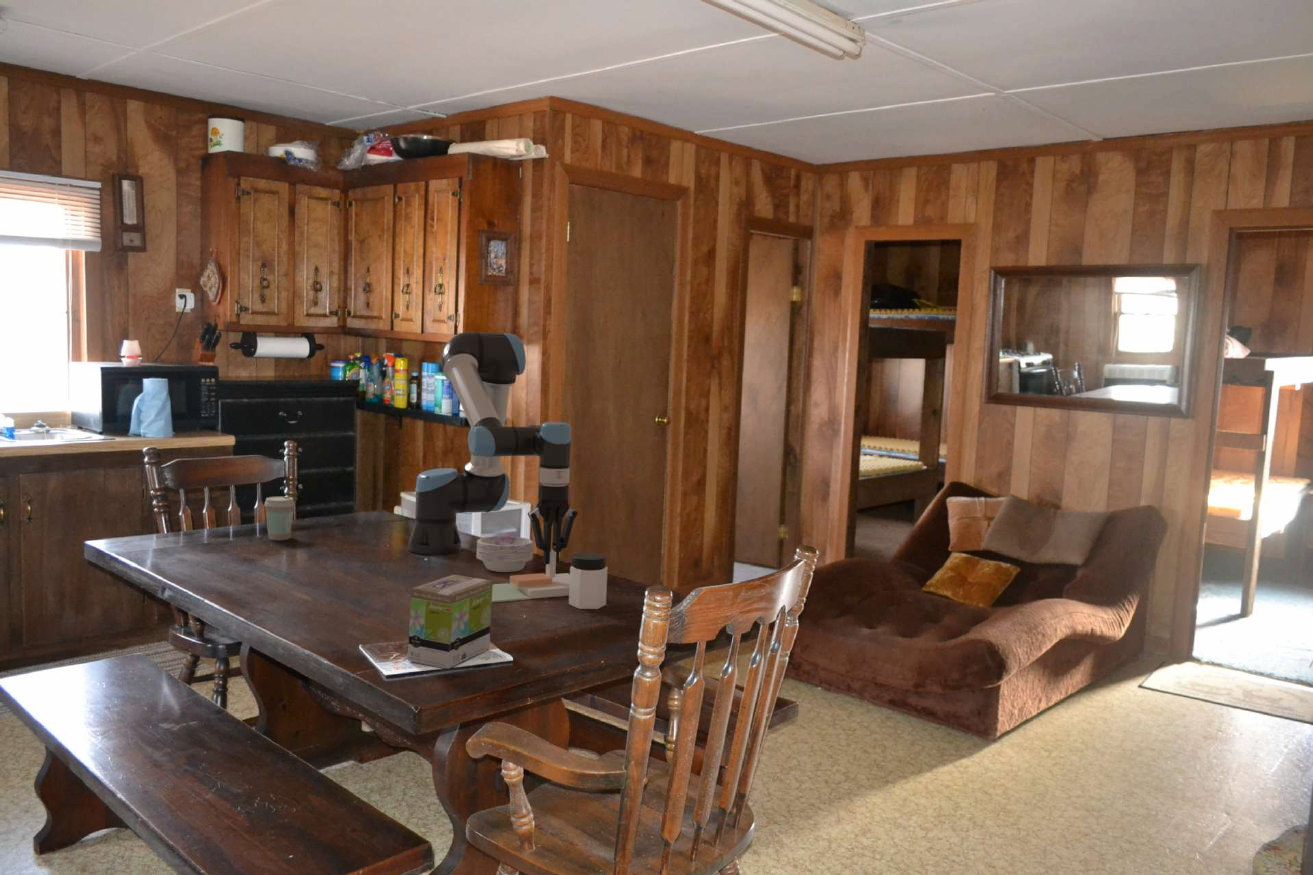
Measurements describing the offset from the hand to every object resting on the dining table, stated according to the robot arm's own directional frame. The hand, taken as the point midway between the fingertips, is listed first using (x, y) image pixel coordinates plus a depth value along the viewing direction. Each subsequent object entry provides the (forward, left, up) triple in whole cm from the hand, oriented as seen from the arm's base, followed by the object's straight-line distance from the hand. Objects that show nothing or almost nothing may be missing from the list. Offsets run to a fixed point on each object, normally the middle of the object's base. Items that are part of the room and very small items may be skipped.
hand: (550, 576), depth 261 cm
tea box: (+43, -39, -4) cm, 58 cm away
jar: (+17, +3, -4) cm, 17 cm away
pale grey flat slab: (0, 0, -3) cm, 3 cm away
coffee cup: (-79, -53, -4) cm, 96 cm away
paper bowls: (-24, -3, -4) cm, 25 cm away
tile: (0, -5, -1) cm, 5 cm away
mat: (0, -16, -3) cm, 16 cm away
